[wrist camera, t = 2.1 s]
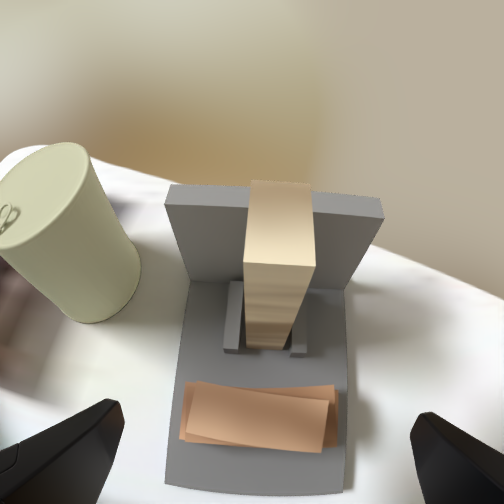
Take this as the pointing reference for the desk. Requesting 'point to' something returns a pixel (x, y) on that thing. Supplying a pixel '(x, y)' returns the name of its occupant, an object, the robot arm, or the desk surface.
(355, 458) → the desk surface
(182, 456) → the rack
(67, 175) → the can
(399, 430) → the desk surface
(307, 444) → the offcut stack
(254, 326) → the birch strip
